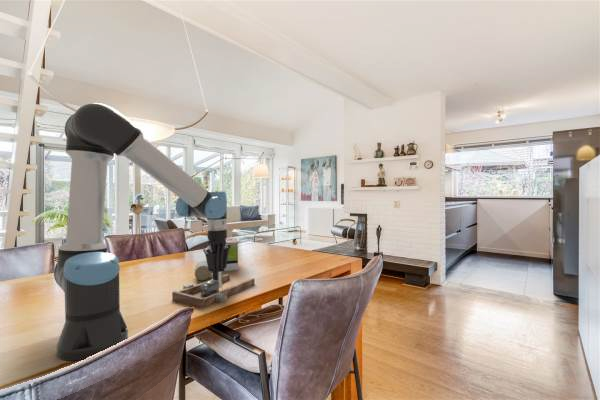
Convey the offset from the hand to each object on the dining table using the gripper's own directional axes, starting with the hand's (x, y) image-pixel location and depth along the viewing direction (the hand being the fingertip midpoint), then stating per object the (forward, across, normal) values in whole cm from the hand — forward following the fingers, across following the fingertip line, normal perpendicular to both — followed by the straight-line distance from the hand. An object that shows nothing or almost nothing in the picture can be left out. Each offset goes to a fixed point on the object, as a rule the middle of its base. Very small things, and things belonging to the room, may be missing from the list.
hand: (217, 287), depth 118 cm
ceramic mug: (+2, +10, +18) cm, 20 cm away
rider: (+2, -4, 0) cm, 4 cm away
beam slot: (+2, 0, 0) cm, 2 cm away
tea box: (+2, +30, +23) cm, 38 cm away
